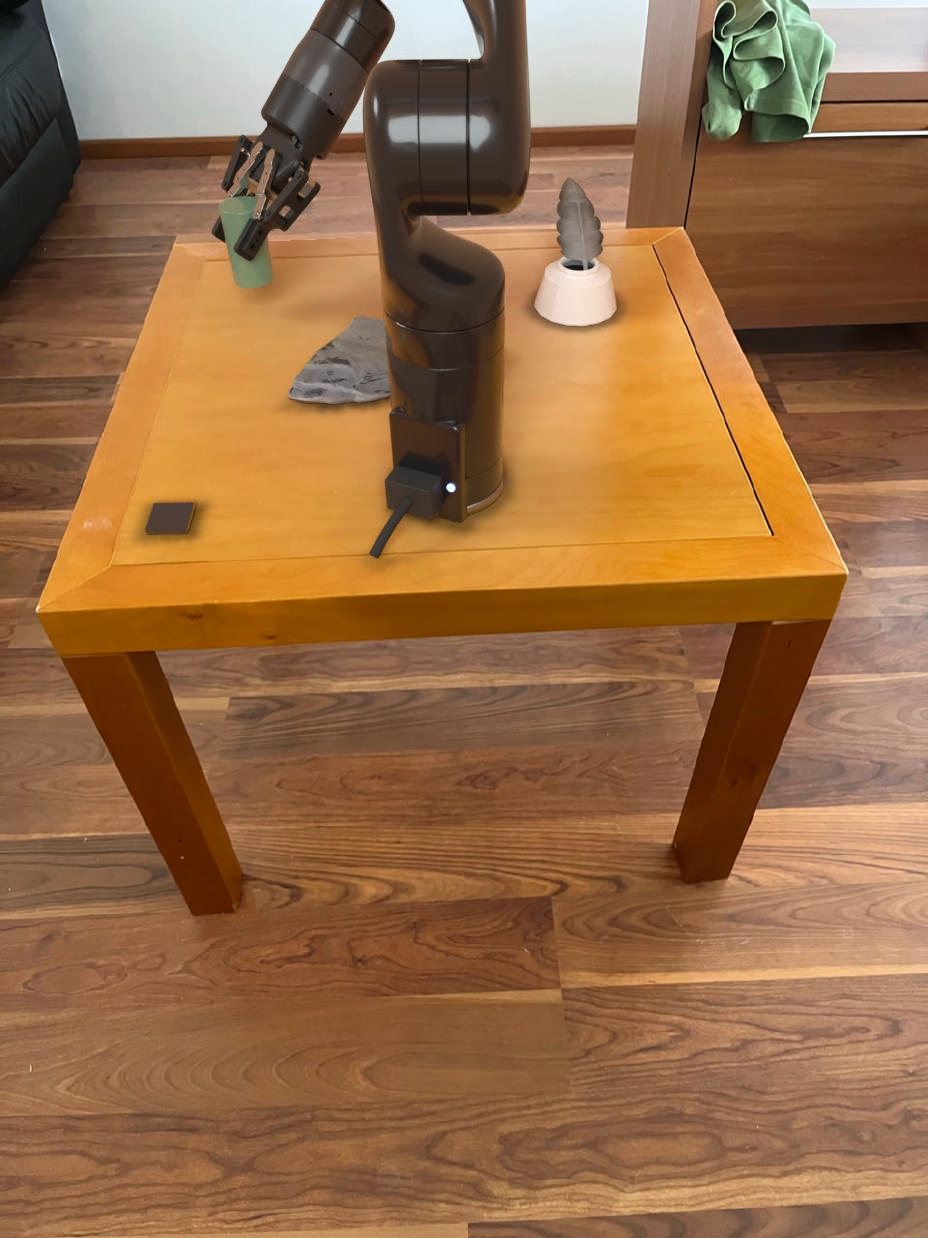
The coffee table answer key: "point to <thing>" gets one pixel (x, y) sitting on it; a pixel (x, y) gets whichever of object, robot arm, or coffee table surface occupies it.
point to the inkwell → (576, 266)
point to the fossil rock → (347, 367)
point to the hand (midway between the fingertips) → (231, 247)
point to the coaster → (170, 518)
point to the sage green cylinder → (233, 223)
